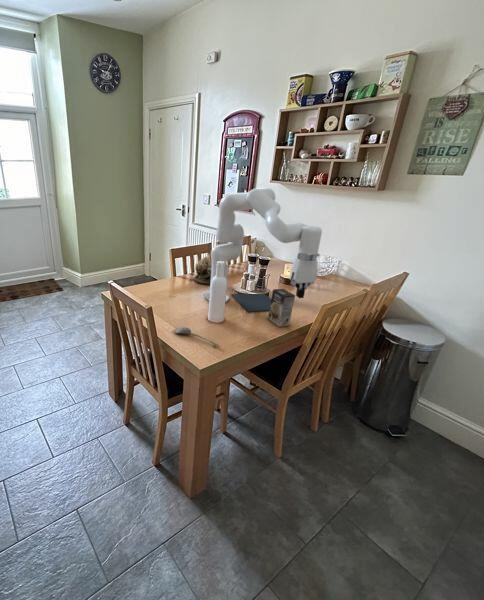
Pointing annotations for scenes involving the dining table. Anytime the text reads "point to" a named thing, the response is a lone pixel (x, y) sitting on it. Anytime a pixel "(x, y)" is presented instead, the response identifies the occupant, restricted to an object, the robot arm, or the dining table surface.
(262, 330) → the dining table surface
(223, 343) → the dining table surface
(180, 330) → the soupspoon
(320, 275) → the dining table surface
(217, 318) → the bottle
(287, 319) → the coffee box
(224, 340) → the dining table surface
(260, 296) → the mat
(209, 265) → the owl figurine
